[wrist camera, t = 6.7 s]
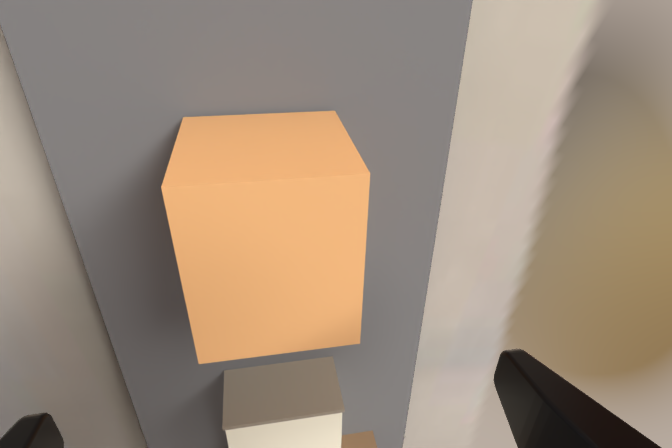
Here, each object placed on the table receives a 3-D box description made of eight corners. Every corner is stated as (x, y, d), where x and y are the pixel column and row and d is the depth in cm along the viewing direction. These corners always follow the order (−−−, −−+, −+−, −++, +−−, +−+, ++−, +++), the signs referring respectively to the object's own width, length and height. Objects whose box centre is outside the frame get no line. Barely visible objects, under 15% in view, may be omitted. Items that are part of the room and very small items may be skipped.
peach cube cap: (332, 253, 19) (360, 343, 14) (207, 265, 18) (199, 364, 14) (334, 110, 15) (370, 173, 11) (183, 116, 15) (161, 187, 11)
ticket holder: (391, 478, 31) (420, 581, 26) (179, 516, 29) (167, 637, 24) (460, -10, 15) (568, 15, 10) (5, -9, 13) (-140, 22, 8)
